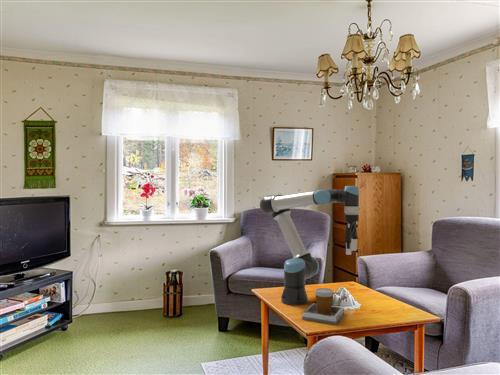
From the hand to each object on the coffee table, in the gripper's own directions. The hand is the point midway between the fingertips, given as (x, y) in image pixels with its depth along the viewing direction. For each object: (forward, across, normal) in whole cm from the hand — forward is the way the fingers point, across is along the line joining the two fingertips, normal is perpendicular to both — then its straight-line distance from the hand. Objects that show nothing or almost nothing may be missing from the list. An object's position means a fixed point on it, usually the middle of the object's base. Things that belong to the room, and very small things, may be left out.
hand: (351, 252), depth 222 cm
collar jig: (+29, -26, +8) cm, 40 cm away
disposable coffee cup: (+28, -26, +8) cm, 39 cm away
